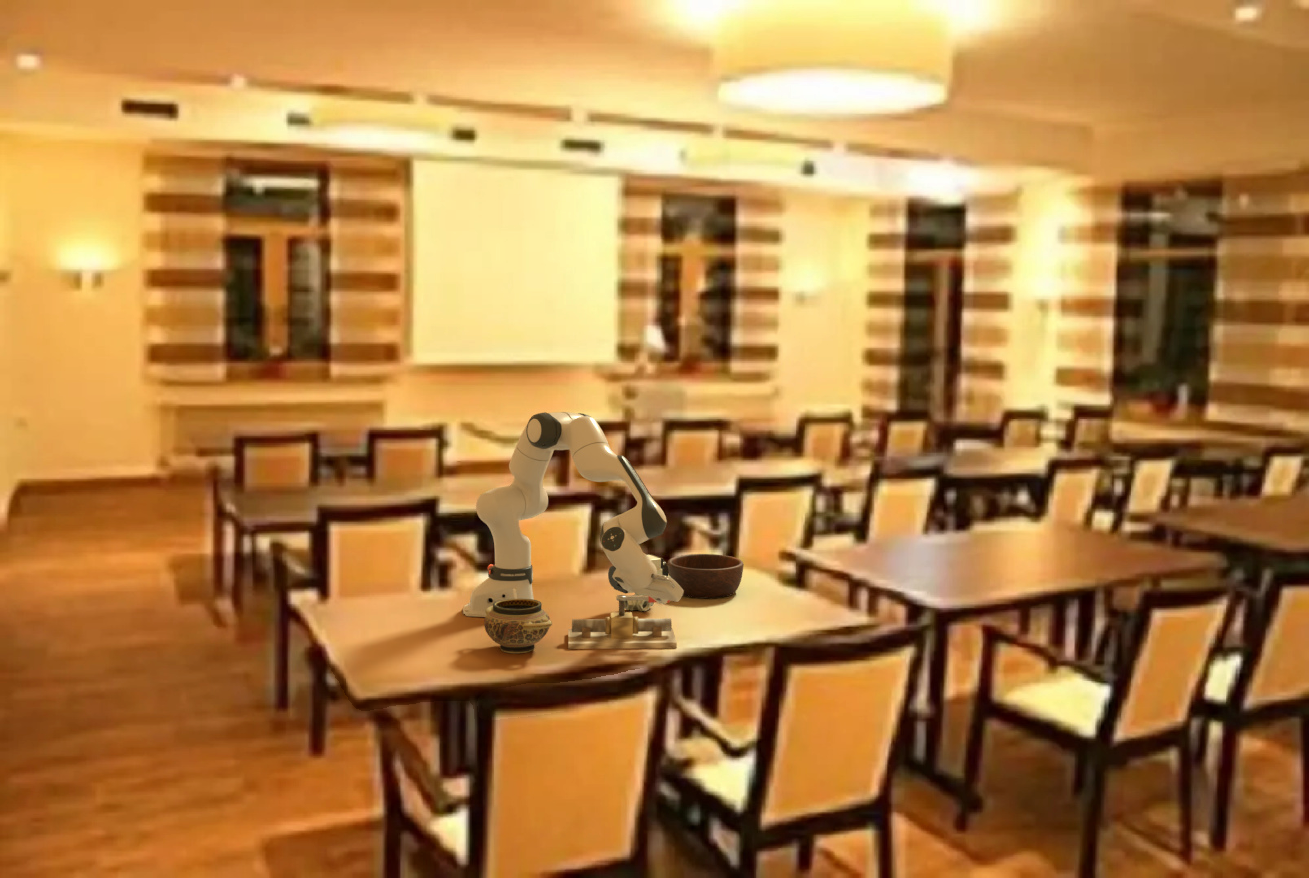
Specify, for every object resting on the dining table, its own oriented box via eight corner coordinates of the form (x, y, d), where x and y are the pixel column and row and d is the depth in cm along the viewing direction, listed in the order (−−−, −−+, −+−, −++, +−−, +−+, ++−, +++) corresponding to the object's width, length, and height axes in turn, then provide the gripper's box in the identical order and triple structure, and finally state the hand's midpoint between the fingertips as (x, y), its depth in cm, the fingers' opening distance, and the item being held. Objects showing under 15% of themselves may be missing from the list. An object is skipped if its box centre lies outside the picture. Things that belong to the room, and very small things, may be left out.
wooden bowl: (652, 593, 413) (652, 562, 412) (694, 579, 434) (694, 550, 432) (717, 605, 399) (717, 573, 398) (757, 590, 419) (757, 559, 418)
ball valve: (621, 616, 384) (621, 559, 382) (607, 610, 391) (607, 553, 389) (671, 609, 393) (671, 553, 391) (656, 603, 400) (657, 548, 398)
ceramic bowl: (563, 664, 343) (574, 609, 344) (511, 660, 332) (522, 603, 332) (511, 645, 362) (522, 593, 362) (460, 640, 350) (471, 587, 351)
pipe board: (568, 648, 348) (568, 608, 347) (568, 634, 363) (568, 595, 362) (676, 647, 350) (677, 607, 349) (672, 633, 365) (672, 594, 364)
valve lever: (616, 602, 354) (616, 595, 354) (616, 600, 357) (616, 593, 357) (669, 602, 355) (669, 595, 354) (669, 599, 358) (669, 593, 357)
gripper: (674, 568, 339) (696, 598, 348) (618, 558, 353) (641, 586, 361) (663, 587, 337) (686, 617, 345) (607, 576, 350) (630, 604, 358)
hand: (662, 601), depth 353 cm, fingers closed
